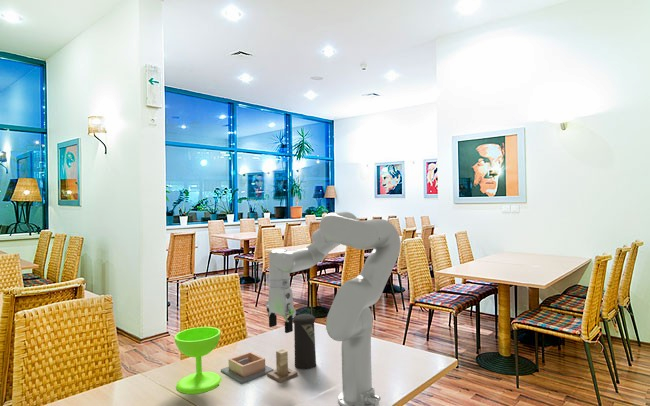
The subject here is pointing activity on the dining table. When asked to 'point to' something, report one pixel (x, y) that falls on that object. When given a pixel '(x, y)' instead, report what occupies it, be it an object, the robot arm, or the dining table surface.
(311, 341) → the container
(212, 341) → the wineglass
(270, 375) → the brown square tray
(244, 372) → the grey base square tray
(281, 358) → the tan wooden bar
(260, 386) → the dining table surface
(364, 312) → the robot arm
